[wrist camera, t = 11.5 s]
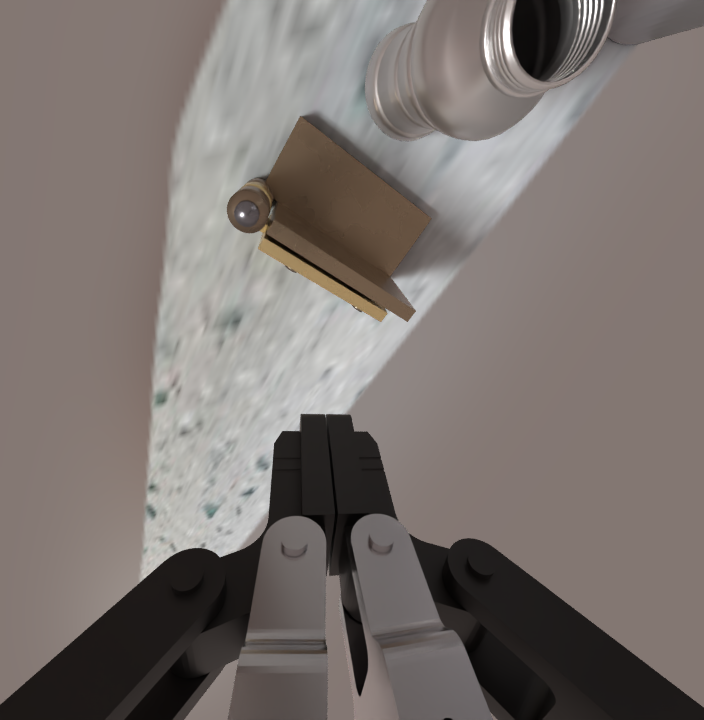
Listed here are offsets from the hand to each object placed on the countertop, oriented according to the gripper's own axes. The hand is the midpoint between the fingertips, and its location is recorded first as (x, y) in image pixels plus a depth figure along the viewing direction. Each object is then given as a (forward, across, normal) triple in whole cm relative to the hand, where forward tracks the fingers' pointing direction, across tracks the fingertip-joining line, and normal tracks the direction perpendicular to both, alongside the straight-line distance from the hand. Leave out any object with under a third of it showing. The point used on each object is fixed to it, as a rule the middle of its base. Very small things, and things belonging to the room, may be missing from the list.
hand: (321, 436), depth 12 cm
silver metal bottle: (+26, -6, -12) cm, 29 cm away
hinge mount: (+25, -2, -3) cm, 26 cm away
